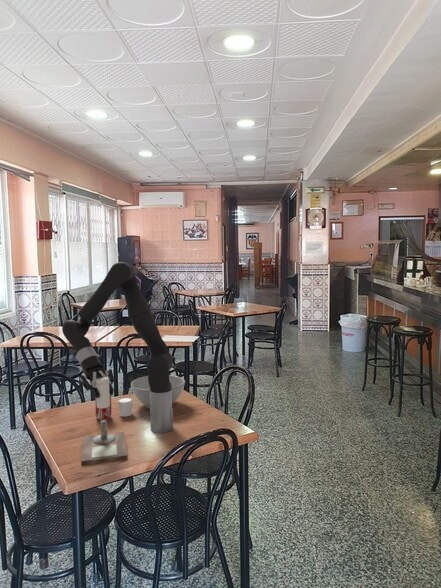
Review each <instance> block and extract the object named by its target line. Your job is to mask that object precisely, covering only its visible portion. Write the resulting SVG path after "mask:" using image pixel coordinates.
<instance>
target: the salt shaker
mask: <svg viewBox="0 0 441 588" xmlns="http://www.w3.org/2000/svg"><path fill="white" fill-rule="evenodd" d="M96 388H97V389H98V392H99V394H100V397H99V398H96V403H97V408H100V409H101V408H107V407H109V406H110V395H109V378H108V376H107V377H100V378H97V379H96Z"/></svg>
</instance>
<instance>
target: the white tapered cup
mask: <svg viewBox="0 0 441 588" xmlns="http://www.w3.org/2000/svg"><path fill="white" fill-rule="evenodd" d="M133 400H134V399H133V398H131V397H123V398H120V399H117V404H118V405H117V406H118V414H119V416H120V417H123V418H124V417H129V416H132V413H133Z"/></svg>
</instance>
